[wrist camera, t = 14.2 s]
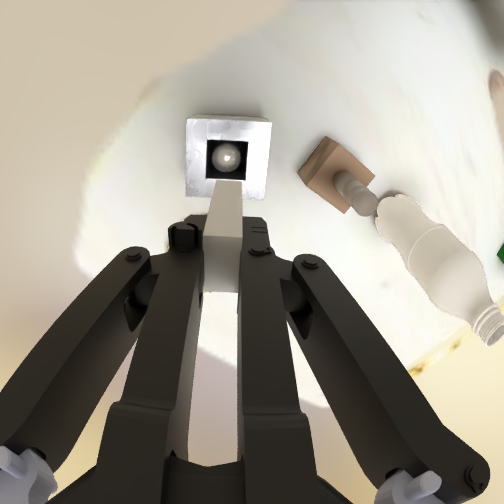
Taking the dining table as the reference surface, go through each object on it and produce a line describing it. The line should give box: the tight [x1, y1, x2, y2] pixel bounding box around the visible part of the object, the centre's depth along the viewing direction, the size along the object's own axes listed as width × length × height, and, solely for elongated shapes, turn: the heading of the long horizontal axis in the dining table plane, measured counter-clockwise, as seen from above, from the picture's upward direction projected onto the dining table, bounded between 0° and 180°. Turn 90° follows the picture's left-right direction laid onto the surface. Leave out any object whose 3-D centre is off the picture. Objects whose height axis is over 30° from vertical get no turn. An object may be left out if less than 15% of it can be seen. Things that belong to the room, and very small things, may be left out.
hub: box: [210, 140, 246, 172], centre depth 30 cm, size 6×6×6 cm
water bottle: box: [375, 194, 504, 347], centre depth 28 cm, size 7×7×25 cm
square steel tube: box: [186, 115, 272, 200], centre depth 29 cm, size 8×8×5 cm
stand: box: [298, 137, 378, 216], centre depth 30 cm, size 6×6×12 cm
